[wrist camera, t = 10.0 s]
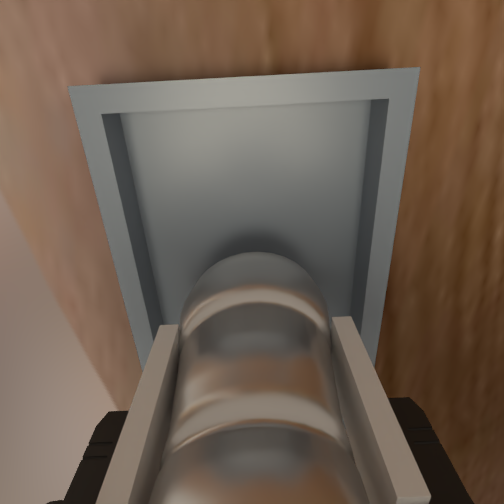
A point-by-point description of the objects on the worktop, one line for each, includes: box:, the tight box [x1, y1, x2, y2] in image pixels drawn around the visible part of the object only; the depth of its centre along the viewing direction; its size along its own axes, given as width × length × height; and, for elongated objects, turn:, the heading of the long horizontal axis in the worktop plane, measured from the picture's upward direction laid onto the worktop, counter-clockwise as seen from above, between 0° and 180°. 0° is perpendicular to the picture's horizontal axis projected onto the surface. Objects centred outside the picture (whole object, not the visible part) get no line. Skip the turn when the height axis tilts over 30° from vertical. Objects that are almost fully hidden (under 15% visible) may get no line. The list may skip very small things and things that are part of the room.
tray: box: [67, 67, 420, 429], centre depth 18 cm, size 20×13×3 cm, turn 3°
